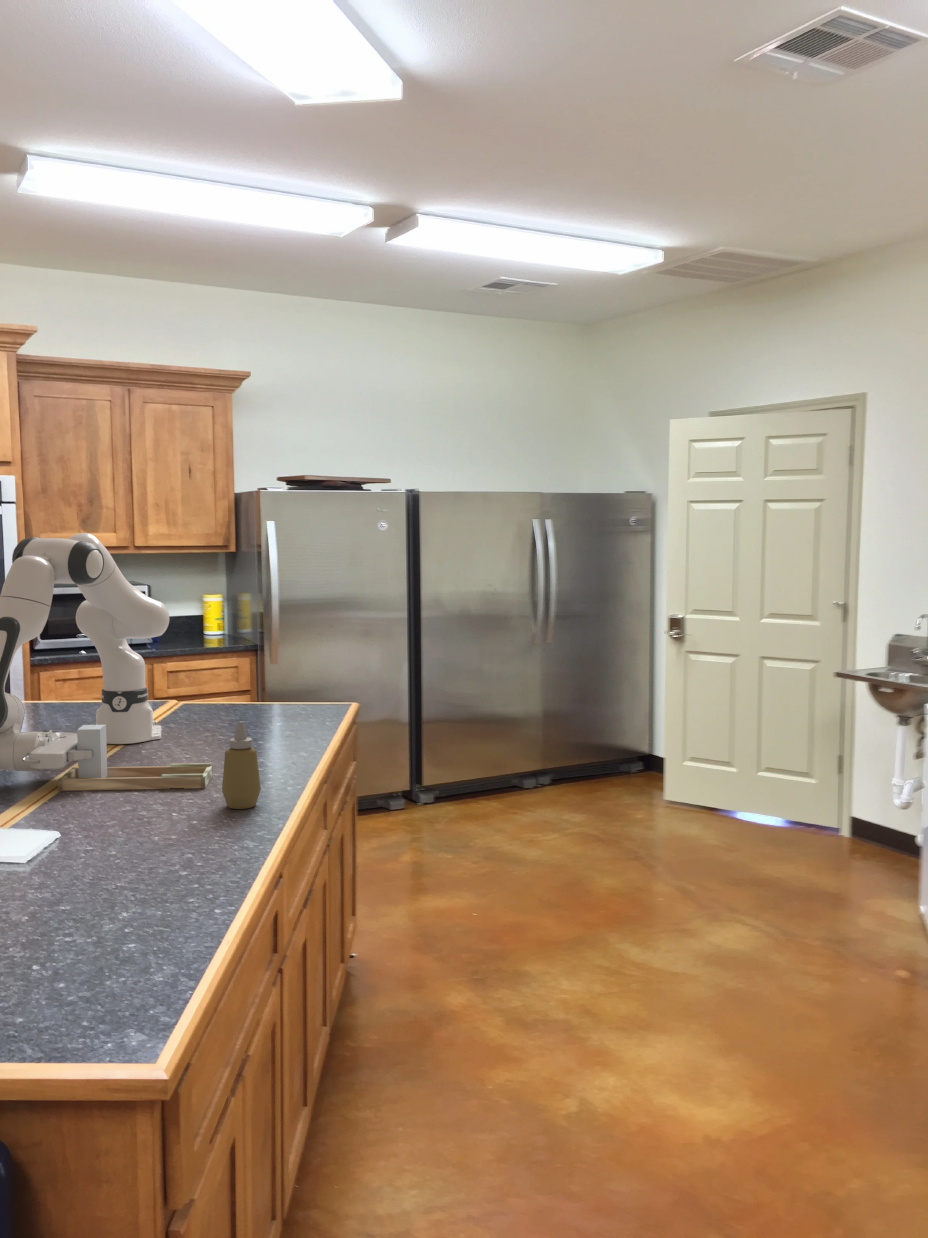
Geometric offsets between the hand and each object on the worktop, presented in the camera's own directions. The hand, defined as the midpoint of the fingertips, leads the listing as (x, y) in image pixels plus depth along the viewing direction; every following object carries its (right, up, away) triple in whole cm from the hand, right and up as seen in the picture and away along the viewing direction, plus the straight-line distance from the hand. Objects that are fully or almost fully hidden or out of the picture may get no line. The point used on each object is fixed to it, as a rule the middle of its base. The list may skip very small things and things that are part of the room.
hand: (96, 750), depth 226 cm
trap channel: (+9, -8, +1) cm, 12 cm away
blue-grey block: (-1, -7, +1) cm, 7 cm away
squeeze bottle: (+37, -10, -17) cm, 42 cm away
